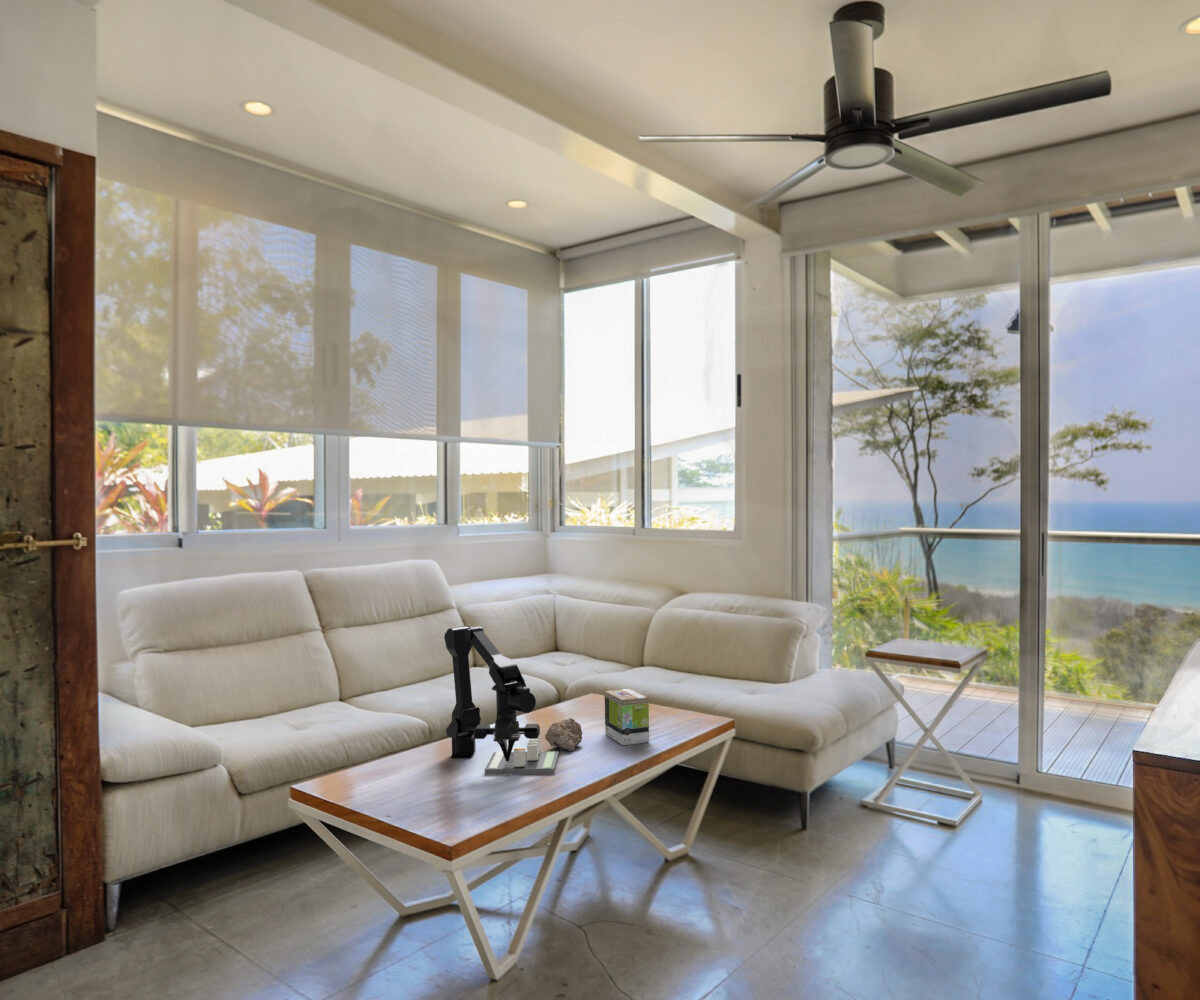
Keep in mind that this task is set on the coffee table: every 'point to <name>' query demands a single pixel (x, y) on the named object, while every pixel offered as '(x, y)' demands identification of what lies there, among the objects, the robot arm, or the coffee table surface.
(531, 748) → the block
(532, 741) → the block
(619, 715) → the tea box
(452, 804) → the coffee table surface
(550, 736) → the coral
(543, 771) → the breaker panel
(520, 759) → the block
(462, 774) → the coffee table surface
